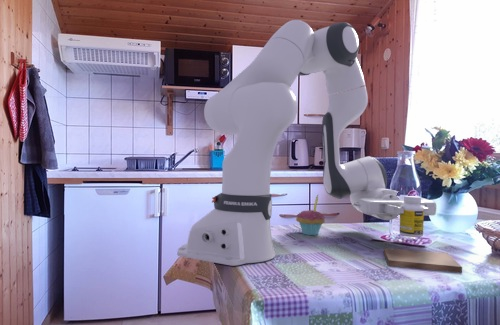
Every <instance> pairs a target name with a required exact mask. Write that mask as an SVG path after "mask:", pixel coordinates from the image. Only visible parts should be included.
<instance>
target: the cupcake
mask: <svg viewBox="0 0 500 325" xmlns="http://www.w3.org/2000/svg"><path fill="white" fill-rule="evenodd" d="M318 200H319V194H317V195H316V196H315V201H314V207H313V209H310V210H309V209H308V210H302V211H301V212H299V213H298V214H297V215H296V219H295V221H297V222H298V223H299V225H300V229H301V232H302V234H303V235H307V236H317V235H318V234H319V232H320V229H321V227H322V224H325V222H326V221H325V220H326V219H325V218H326V217H325V215H324V214H322V213H321V212H319V211H318V210H317V206H318V202H319V201H318Z"/></svg>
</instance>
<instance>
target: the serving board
mask: <svg viewBox="0 0 500 325" xmlns="http://www.w3.org/2000/svg"><path fill="white" fill-rule="evenodd" d="M383 255H384V258H385V261H386V263H387V265H388V266H389V267H399V268H409V269H419V270H430V271H439V272H452V273H463V266H462V265H461V264H460V263H458V261H456V260H455V258H453V257H452V256H451V255H450V254H449V253H448V252H446V253H445V252H437V251H435V252H434V251H426V250H425V251H424V250H412V249H411V250H410V249H400V248H399V249H398V248H387V247H384V248H383Z"/></svg>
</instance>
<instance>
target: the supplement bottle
mask: <svg viewBox="0 0 500 325" xmlns="http://www.w3.org/2000/svg"><path fill="white" fill-rule="evenodd" d="M421 198H422V197H421V196H419V195H415V196H404V204H403V205H401V207H403V208H404V214H400V218H399V235H401V236H403V237H409V238H421V237H423V236H424V222H425V221H424V220H425V219H424V218H425V215H424V208H423V206H421V205H420V203H421Z"/></svg>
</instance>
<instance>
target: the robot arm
mask: <svg viewBox="0 0 500 325" xmlns="http://www.w3.org/2000/svg"><path fill="white" fill-rule="evenodd" d="M359 50H360V38H359V34H358V32H357V30H356V29H355V27H354V26H352V25H351V24H350V23H348V22H346V21H344V22H342V21H341V22H335V23H332V24H331V25H329V26H326V27H322V28H319V29H316V30H314V31H313V29H312V27H311V26H310V25H309V24H308V23H307V22H305V21H303V20H300V19H292V20H289V21H288V22H287V21H286V23H284V24H283V25H282V26H281V27H280V28H279V29H278V30H276V31H275V33H273V35H271V37H270V38H269V40H268V41H267V42H266V44H265V45H264V46H263V47H262V49H261V50H260V52H259V53H258V54H257V55H256V57H255V58H254V59H253V60H252V62H251V63H250V64H249V65H248V66H246V67H245V68H244V69H243V70H242V71H241V72H240V73H238V74H237V75H236V76H235V77H234V78H233V79H232V80H231V81H229V83H228V84H227V85H225V86H224V87H223V88H222V89H221V90H219V91H218V92H216V93H215V94H213V95H212V96H211V97H209V98H208V99H207V100H206V102H205V105H204V108H203V109H204V110H203V113H204V114H203V115H204V116H203V117H204V120H205V123H206V124H207V126H209V128H210V129H211V130H213V131H215V132H217V133H221V134H223V135H224V134H225V135H231V136H233V135H236V139H235V143H234V145H233V146H232V148H231V150H230V151H229V152H228V153H227V154H226V155H225V156H224V158H223V161H222V173H221V174H222V178H221V179H222V180H221V192H220V193H219V194H217V195H215V196H214V197H213V196H212V197H211V199H212V200H211V203H213V207H214V208H213V209H212V210H211V211H209V212H208V213H207V214H206V215H205V216H203V217H201V218H200V219H199V220H197V221H196V222H195V223H194V224H193V225H192V226H191V227H190V230H189V231H188V232H189V233H188V238H187V242H186V243H184V244H182V245H181V246H180V247H178V249H177V254H176V255H177V257H179V258H181V257H182V258H187V259H192V260H193V259H194V260H197V261H204V262H209V263H215V264H221V265H226V266H234V267H235V266H241V265H244V264H253V263H262V262H267V261H271V260H272V259H274V258H275V257H276V252H275V248H274V243H273V237H272V228H271V218H272V216H273V215H272V212H273V200H272V194H271V193H270V192H271V191H270V190H271V172H272V171H271V170H272V163H273V162H272V161H273V157H274V152H275V150H276V148H277V145H278V142H279V140H280V139H281V137H282V135H283V133H285V131H286V130H287V129H288V128H289V127H290V126H291V125H292V124H293V123H294V121H295V119H296V117H297V113H298V101H297V97H296V94H295V93H294V90H293V89H292V88H291V87H292V86H293V84H294V82H295V80H296V79H297V77H298V76H309V75H311V74H316V73H320V72H321V73H322V72H323V73H324V76H325V83H326V84H325V85H326V91H327V97H328V107H327V111H326V113H325V114H323V116H322V121H321V137H322V138H321V140H322V156H323V157H322V158H323V160H322V161H323V170H322V171H323V173H322V182H323V187H324V190H325V192H326V193H327V194H328V195H329V196H331V197H334V198H335V199H339V200H340V199H344V198H347V197H349V200H350V203H351V205H352V207H353V208H354V209H356V210H357V211H358V212H360V213H362V214H363V215H364V214H365V215H368V216H372V217H374V218H377V219H380V220H383V221H392V220H394V219H399V218H398V217H397V216H398V215H400V214H404V208H403V207H401V205H403V204H404V200H403V199H399V198H398V197H397V196H396V195H397V193H398V192H399V191H397V190H393V189H389V188H387V184H388V177H387V176H388V175H387V171H386V168H385V167H384V165H383V164H382V163H381V161H379V160H378V159H377V158H375V157H373V156H370V155H368V156H364V157H361V158H357V159H354V160H352V161H348V162H344V163H341V159H340V158H341V156H340V136H341V134H342V133H343V132H344V130H345V129H346V128H347V127H348V126H350V125H351V124H352V123H353V122H354V121H356V120H358V118H360V117H361V115H362V114H364V112H365V110H366V109H367V106H368V103H369V102H368V101H369V99H368V98H369V97H368V91H367V87H366V86H367V85H366V82H365V78H364V74H363V71H362V68H361V66H360V63H359V61H358V58H357V56H358V54H359ZM420 205H421V206H423V208H424V216H430V217H431V216H436V213H437V202H436V201H434V200H431V199H428V198H424V197H421V203H420Z"/></svg>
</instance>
